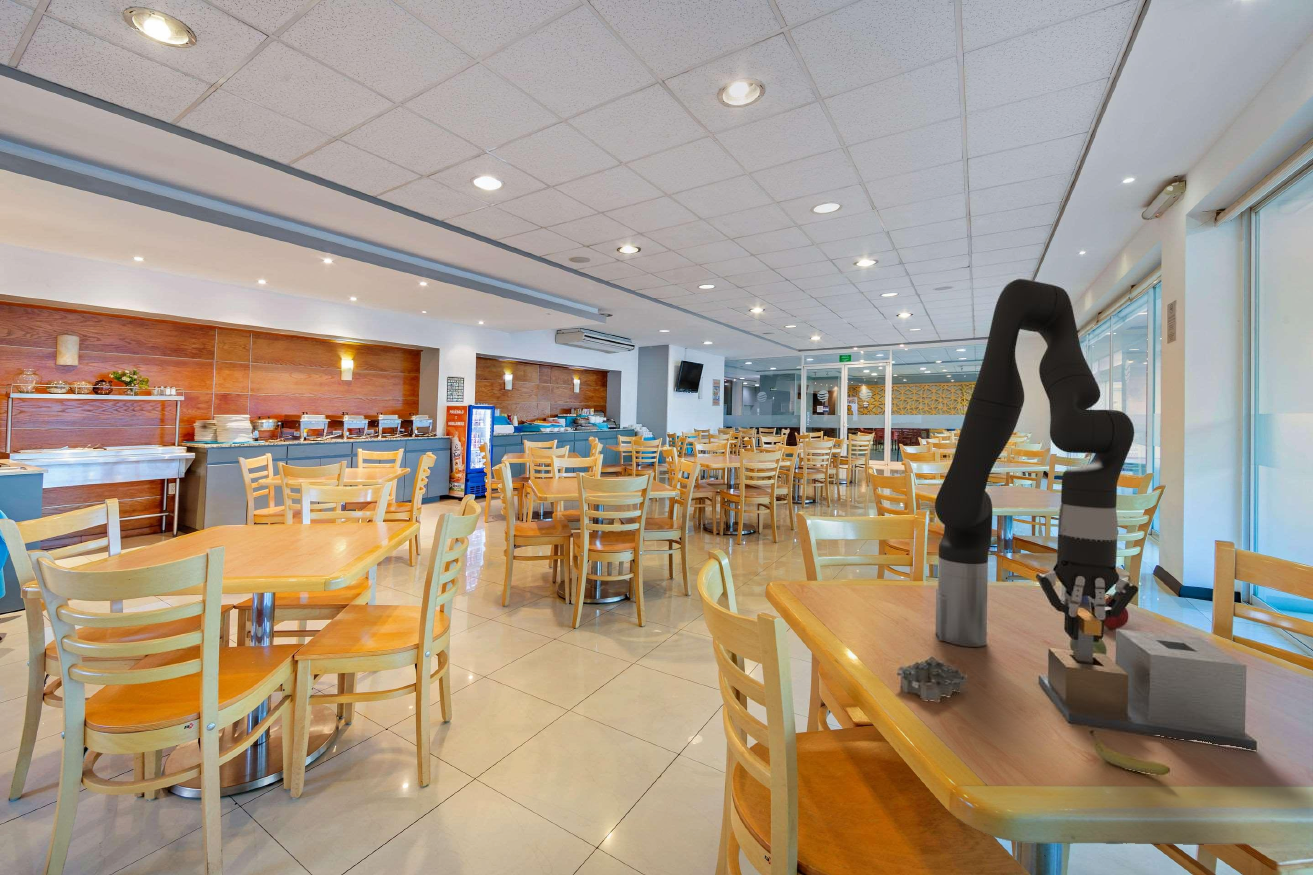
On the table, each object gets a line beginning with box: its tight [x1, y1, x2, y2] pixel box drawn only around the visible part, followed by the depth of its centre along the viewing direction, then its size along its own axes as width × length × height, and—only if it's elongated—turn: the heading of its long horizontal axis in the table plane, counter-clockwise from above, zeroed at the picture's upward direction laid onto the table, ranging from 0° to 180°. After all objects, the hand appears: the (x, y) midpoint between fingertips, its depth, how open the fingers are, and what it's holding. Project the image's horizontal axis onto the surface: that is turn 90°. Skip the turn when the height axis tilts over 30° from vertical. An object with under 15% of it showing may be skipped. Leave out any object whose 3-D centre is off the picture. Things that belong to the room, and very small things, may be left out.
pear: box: [1069, 638, 1108, 655], centre depth 105 cm, size 6×5×10 cm
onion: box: [1104, 593, 1129, 631], centre depth 123 cm, size 6×6×8 cm
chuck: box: [1038, 628, 1258, 752], centre depth 86 cm, size 22×14×12 cm, turn 71°
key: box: [1073, 607, 1102, 665], centre depth 88 cm, size 7×2×8 cm, turn 160°
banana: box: [1088, 729, 1171, 776], centre depth 72 cm, size 8×2×4 cm, turn 50°
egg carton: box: [896, 656, 969, 701], centre depth 94 cm, size 11×8×4 cm
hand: (1083, 638), depth 88 cm, fingers closed on key, 2 cm apart
